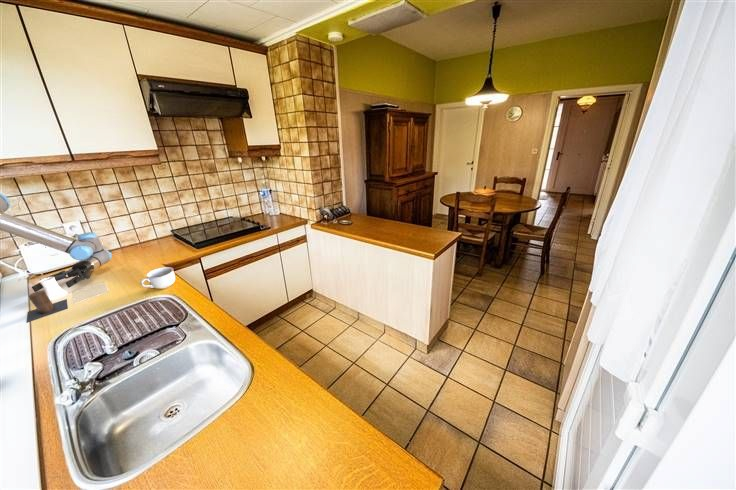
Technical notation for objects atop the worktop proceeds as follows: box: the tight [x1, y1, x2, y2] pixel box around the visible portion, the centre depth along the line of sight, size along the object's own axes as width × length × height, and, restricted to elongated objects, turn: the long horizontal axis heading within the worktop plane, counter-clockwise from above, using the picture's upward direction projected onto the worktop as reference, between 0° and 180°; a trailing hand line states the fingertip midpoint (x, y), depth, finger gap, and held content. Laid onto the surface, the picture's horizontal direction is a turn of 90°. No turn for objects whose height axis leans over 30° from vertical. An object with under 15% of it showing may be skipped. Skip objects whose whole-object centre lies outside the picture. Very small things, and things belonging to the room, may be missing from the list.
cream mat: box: [71, 281, 110, 305], centre depth 129 cm, size 16×12×1 cm
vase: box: [38, 276, 69, 301], centre depth 125 cm, size 8×8×10 cm
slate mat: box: [25, 298, 69, 324], centre depth 116 cm, size 12×12×1 cm
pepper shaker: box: [27, 290, 55, 314], centre depth 114 cm, size 5×5×9 cm
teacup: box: [140, 266, 177, 290], centre depth 129 cm, size 14×11×8 cm
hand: (50, 287), depth 124 cm, fingers open, 13 cm apart
